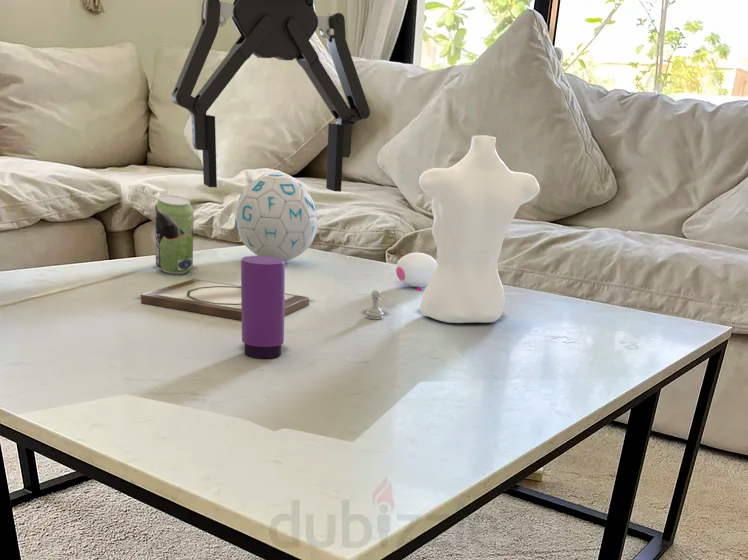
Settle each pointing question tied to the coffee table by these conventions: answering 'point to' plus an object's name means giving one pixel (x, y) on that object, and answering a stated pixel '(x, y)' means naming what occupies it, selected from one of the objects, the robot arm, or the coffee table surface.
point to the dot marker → (262, 305)
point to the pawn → (375, 307)
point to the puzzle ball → (276, 217)
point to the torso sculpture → (471, 232)
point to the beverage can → (174, 234)
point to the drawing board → (211, 299)
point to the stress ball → (416, 269)
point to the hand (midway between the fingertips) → (273, 188)
